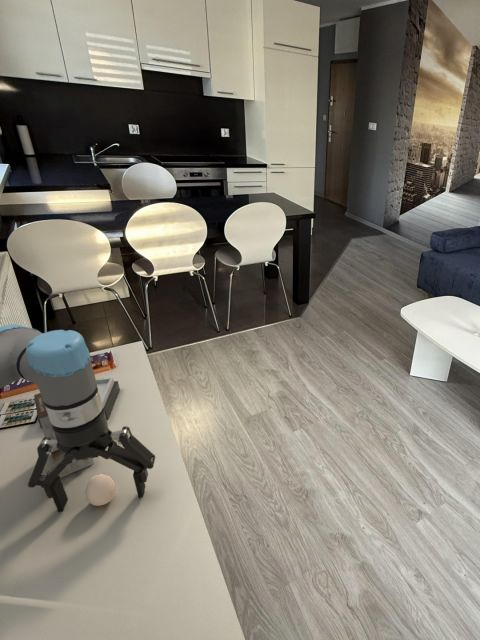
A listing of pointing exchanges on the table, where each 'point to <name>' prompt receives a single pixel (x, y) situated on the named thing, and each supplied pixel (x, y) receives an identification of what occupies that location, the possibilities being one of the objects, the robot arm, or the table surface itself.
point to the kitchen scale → (106, 394)
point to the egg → (100, 490)
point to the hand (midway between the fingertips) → (103, 498)
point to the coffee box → (49, 432)
